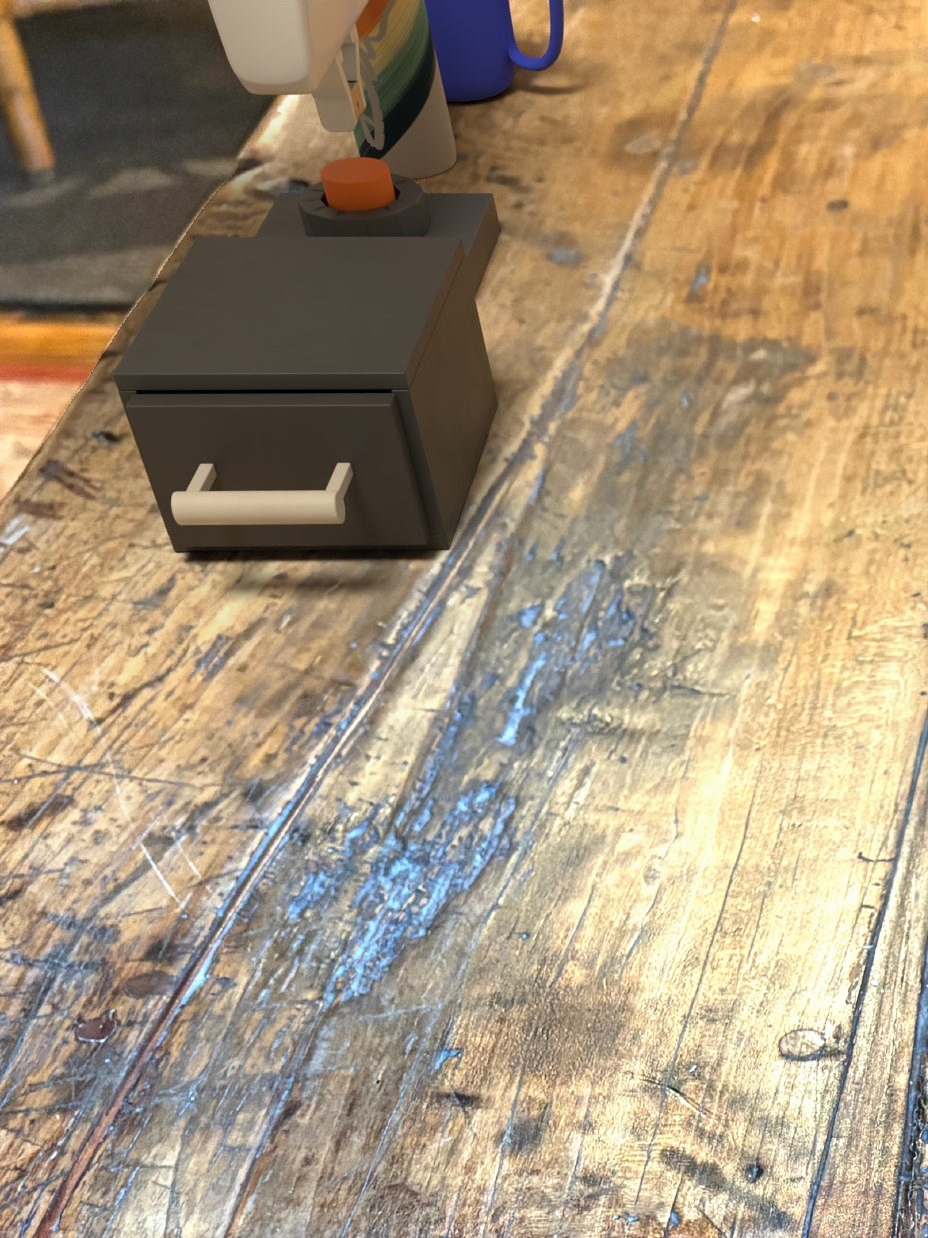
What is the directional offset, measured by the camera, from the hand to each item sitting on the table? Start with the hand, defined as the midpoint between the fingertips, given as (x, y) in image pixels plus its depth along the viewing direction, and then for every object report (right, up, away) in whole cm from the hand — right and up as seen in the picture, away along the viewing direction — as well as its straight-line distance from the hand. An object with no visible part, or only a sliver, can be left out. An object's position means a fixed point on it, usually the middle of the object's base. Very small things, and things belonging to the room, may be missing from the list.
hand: (345, 122), depth 120 cm
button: (0, -3, +3) cm, 4 cm away
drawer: (+4, -25, -14) cm, 29 cm away
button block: (0, -5, +6) cm, 8 cm away
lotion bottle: (-2, +5, +16) cm, 17 cm away
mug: (0, +14, +25) cm, 28 cm away
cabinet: (+4, -23, -11) cm, 25 cm away
